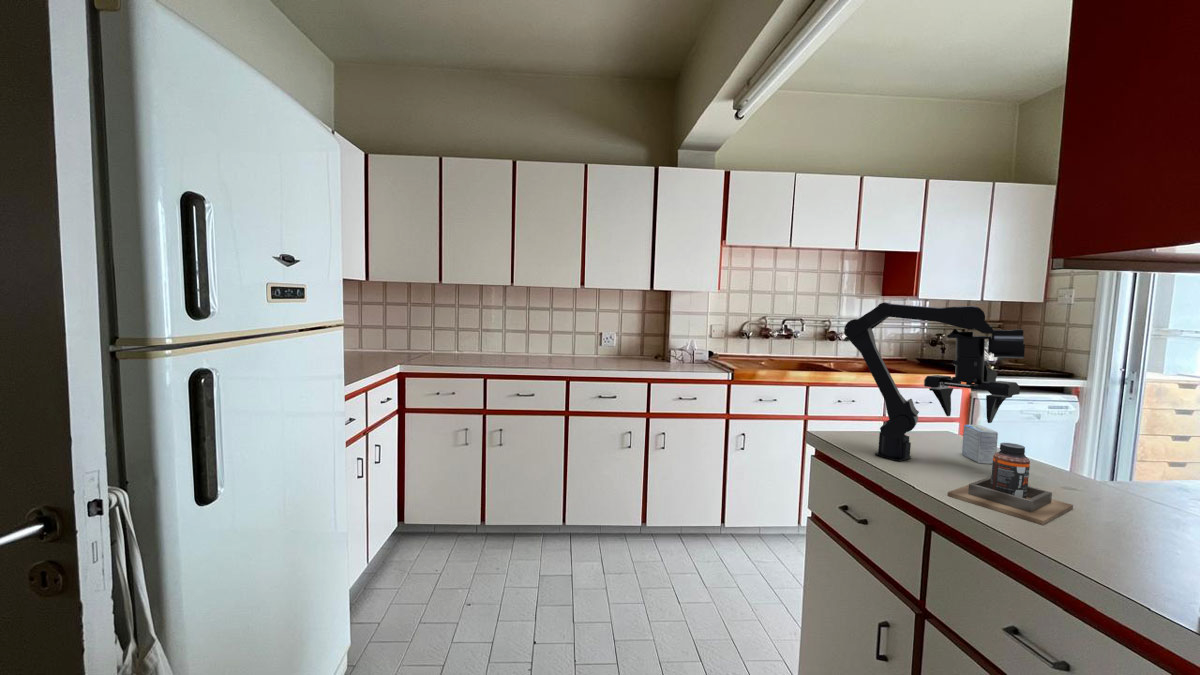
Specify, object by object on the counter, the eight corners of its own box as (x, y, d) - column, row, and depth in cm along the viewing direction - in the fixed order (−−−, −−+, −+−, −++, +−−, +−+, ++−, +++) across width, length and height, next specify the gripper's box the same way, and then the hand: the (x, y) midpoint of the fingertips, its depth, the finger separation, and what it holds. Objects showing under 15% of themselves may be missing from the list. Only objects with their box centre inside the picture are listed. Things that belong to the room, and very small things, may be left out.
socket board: (947, 495, 107) (948, 481, 107) (980, 483, 115) (981, 470, 115) (1042, 525, 93) (1044, 509, 93) (1072, 508, 102) (1074, 494, 102)
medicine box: (996, 464, 130) (999, 432, 130) (977, 463, 131) (980, 431, 131) (978, 455, 138) (981, 425, 138) (961, 454, 139) (963, 424, 138)
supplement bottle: (1029, 506, 101) (1034, 450, 100) (992, 499, 104) (997, 445, 103) (1022, 496, 106) (1027, 444, 105) (987, 490, 109) (991, 439, 108)
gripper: (1032, 357, 119) (1030, 423, 119) (948, 353, 135) (946, 410, 136) (1007, 359, 114) (1006, 428, 114) (923, 354, 130) (922, 414, 131)
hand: (968, 419), depth 124 cm, fingers open, 9 cm apart
